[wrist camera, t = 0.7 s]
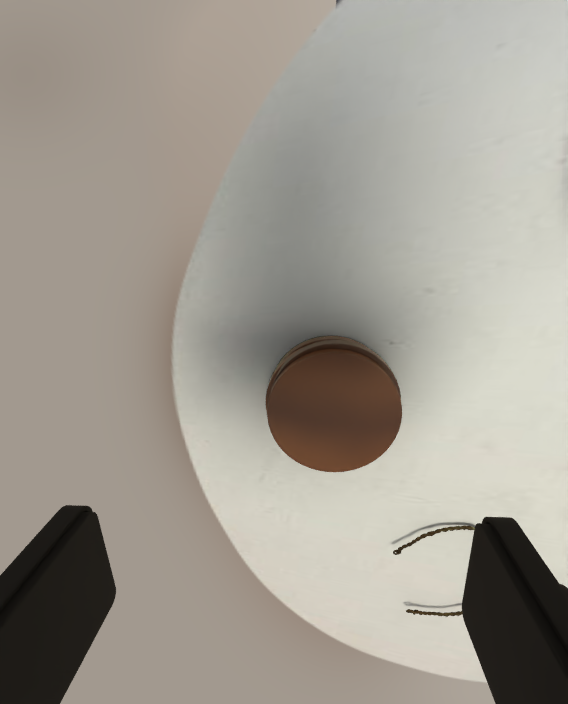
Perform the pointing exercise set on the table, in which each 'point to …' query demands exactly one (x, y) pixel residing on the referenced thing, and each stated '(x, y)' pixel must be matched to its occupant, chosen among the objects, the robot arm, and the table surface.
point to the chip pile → (333, 404)
